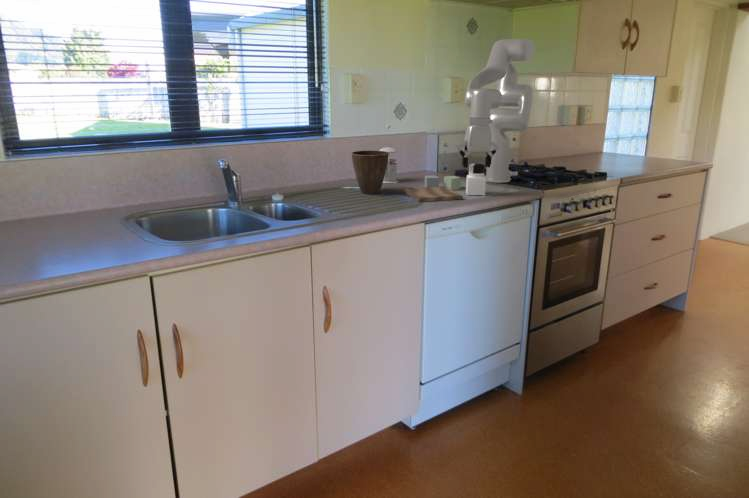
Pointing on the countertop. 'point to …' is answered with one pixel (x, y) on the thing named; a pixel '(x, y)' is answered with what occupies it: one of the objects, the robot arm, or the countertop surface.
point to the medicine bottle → (476, 180)
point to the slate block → (431, 181)
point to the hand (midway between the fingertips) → (476, 167)
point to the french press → (390, 166)
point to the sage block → (452, 182)
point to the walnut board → (433, 194)
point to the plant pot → (370, 169)
